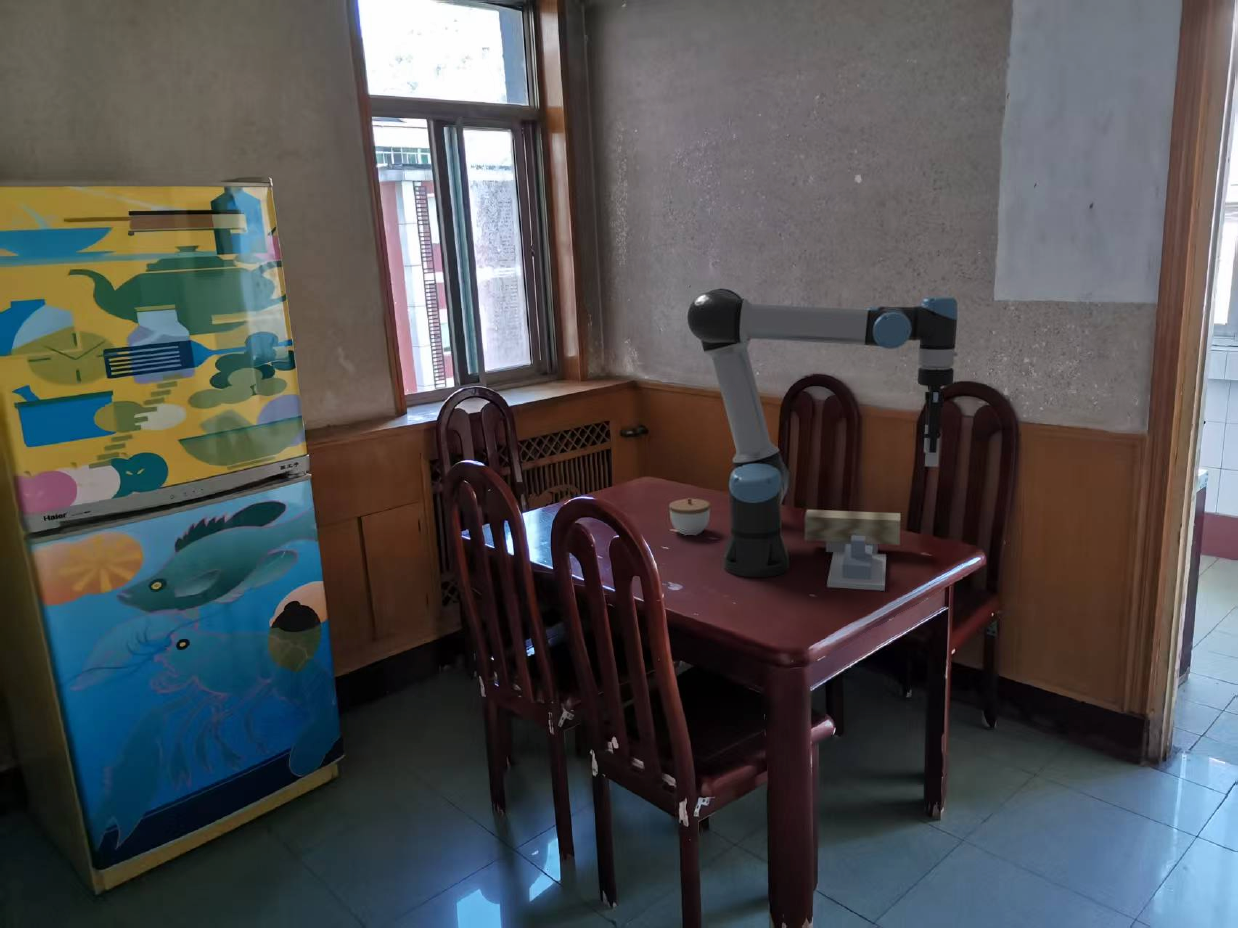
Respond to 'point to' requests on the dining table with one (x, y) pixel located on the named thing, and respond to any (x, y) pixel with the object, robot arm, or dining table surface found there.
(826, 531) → the pine batten
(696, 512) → the lidded jar
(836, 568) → the fulcrum stand
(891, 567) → the dining table surface
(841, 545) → the slab
